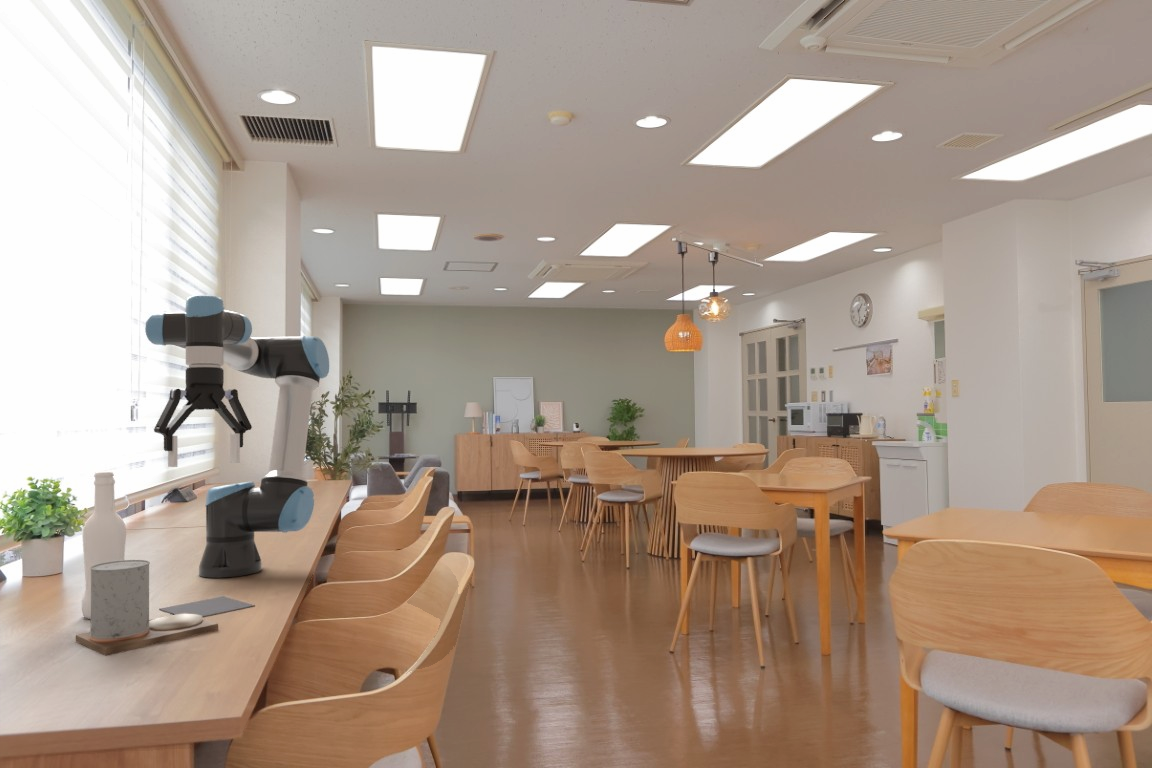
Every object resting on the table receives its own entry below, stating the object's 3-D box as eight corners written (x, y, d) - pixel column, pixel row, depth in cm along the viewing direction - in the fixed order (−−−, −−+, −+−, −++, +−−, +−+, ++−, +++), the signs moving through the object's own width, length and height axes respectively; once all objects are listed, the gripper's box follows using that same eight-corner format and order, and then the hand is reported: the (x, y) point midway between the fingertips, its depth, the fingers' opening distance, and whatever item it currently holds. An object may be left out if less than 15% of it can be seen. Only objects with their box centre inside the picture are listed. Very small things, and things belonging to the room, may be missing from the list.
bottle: (135, 611, 170) (135, 470, 171) (101, 621, 163) (102, 473, 164) (106, 608, 173) (107, 469, 174) (72, 618, 165) (72, 472, 166)
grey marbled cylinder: (123, 640, 142) (123, 570, 143) (77, 638, 144) (77, 569, 145) (161, 625, 152) (161, 560, 152) (117, 623, 154) (117, 559, 154)
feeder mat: (223, 597, 182) (223, 596, 182) (254, 606, 173) (254, 605, 173) (159, 609, 172) (159, 608, 172) (189, 620, 163) (189, 619, 163)
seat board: (184, 618, 164) (185, 609, 164) (218, 629, 155) (218, 620, 155) (75, 641, 149) (75, 631, 149) (105, 655, 140) (105, 645, 140)
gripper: (250, 369, 187) (250, 460, 186) (136, 366, 167) (136, 467, 167) (267, 367, 182) (267, 461, 181) (152, 364, 163) (152, 469, 162)
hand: (204, 464), depth 174 cm, fingers open, 13 cm apart
